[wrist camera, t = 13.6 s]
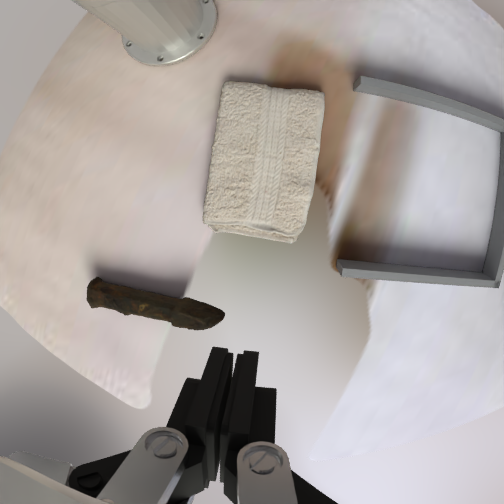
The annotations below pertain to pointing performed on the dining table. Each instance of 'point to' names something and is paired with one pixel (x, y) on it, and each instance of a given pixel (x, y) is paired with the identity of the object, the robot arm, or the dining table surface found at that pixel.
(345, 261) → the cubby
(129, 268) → the dining table surface
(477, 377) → the dining table surface
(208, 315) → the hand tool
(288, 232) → the washcloth
